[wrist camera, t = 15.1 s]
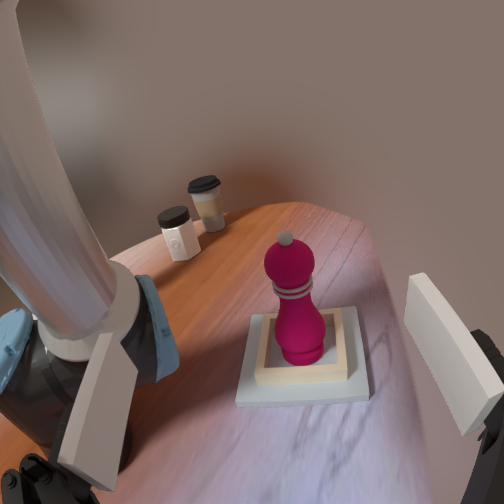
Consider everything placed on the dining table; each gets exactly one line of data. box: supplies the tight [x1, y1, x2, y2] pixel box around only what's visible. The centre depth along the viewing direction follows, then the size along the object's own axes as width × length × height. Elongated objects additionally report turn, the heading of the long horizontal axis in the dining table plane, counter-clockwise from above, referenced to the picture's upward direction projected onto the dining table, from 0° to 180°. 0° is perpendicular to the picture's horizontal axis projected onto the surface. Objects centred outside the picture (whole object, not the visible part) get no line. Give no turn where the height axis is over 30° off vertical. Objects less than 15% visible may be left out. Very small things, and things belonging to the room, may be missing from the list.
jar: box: [157, 206, 201, 262], centre depth 81 cm, size 9×8×12 cm
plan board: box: [235, 306, 369, 407], centre depth 45 cm, size 18×18×4 cm
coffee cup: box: [188, 175, 225, 232], centre depth 90 cm, size 9×9×15 cm
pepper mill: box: [264, 231, 326, 366], centre depth 41 cm, size 7×7×20 cm
